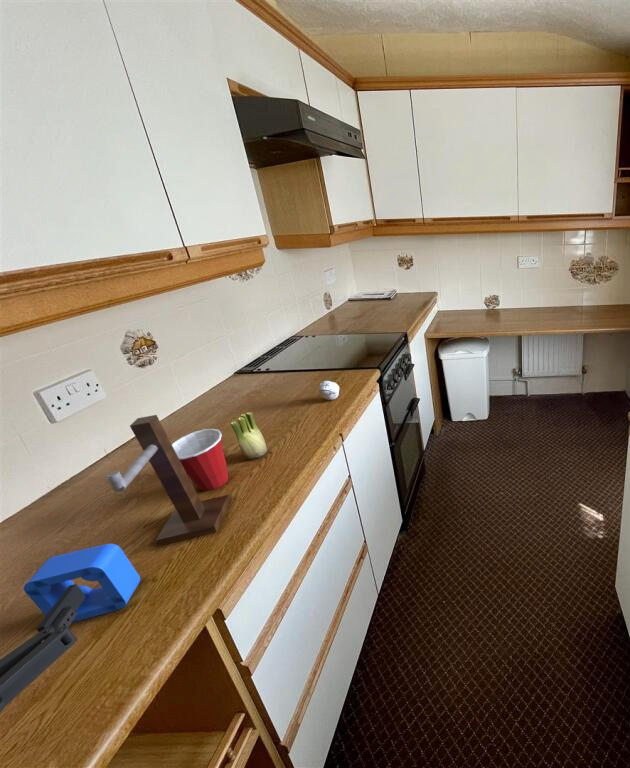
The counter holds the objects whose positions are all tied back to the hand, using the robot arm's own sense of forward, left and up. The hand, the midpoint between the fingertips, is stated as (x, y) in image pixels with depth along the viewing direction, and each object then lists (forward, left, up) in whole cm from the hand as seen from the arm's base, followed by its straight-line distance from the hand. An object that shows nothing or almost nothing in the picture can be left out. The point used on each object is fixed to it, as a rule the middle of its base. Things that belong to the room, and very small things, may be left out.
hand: (16, 607), depth 55 cm
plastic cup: (-31, +27, -12) cm, 42 cm away
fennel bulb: (-35, +38, -12) cm, 53 cm away
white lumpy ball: (-49, +65, -12) cm, 83 cm away
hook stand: (-15, +19, -12) cm, 27 cm away
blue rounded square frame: (-9, +5, -12) cm, 16 cm away
